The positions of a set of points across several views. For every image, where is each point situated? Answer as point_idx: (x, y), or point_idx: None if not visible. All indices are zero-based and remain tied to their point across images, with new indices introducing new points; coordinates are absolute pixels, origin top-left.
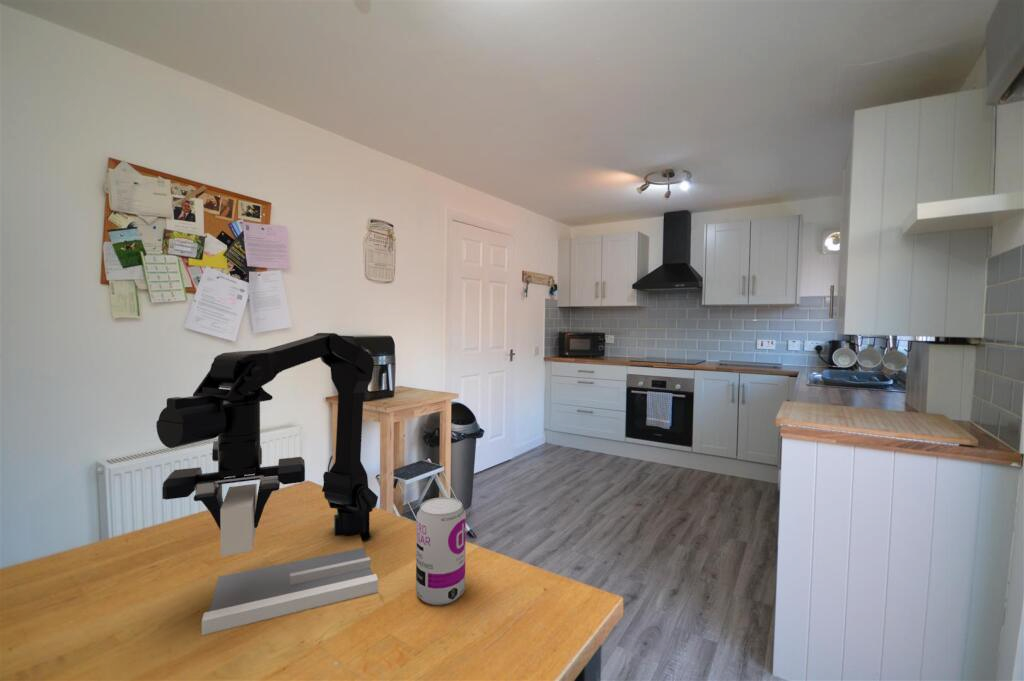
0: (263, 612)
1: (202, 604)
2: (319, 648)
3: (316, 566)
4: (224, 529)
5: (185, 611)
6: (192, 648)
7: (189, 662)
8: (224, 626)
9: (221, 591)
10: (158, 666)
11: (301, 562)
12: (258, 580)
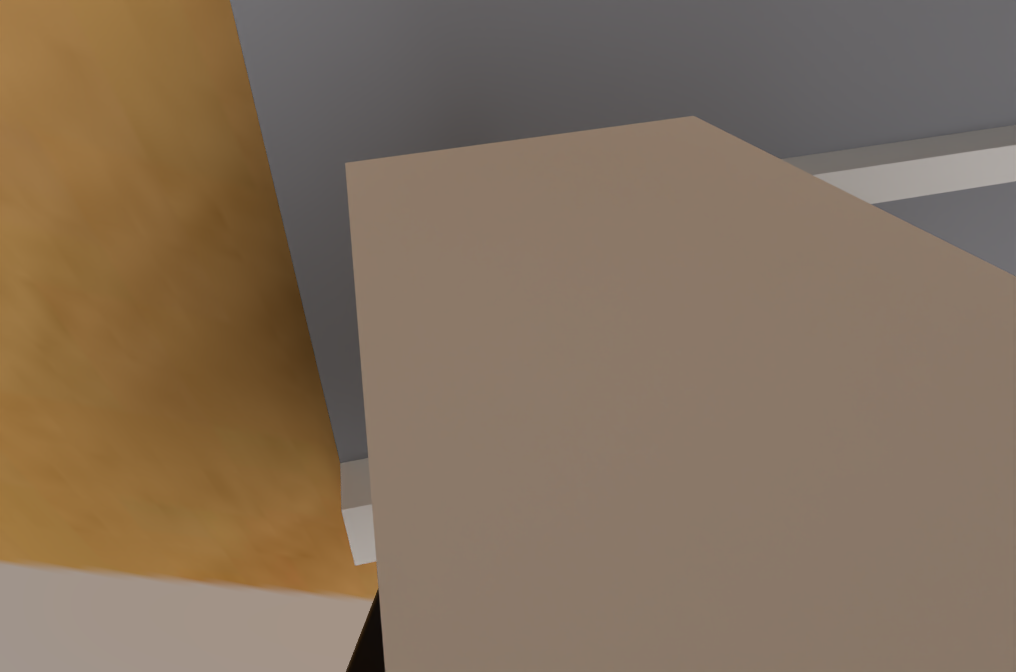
0: None
1: (202, 143)
2: None
3: (891, 2)
4: None
5: (125, 194)
6: (317, 491)
7: (339, 557)
8: None
9: (314, 153)
10: (224, 561)
11: None
12: (531, 74)
